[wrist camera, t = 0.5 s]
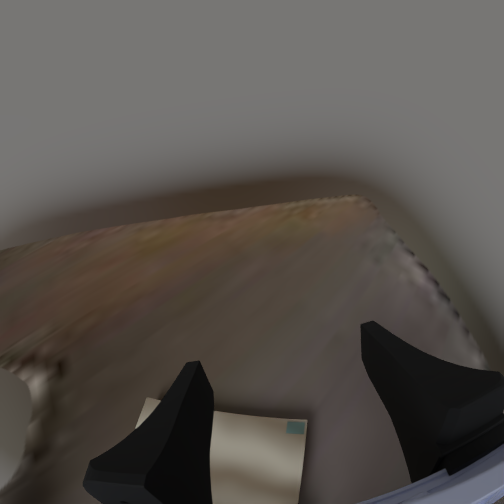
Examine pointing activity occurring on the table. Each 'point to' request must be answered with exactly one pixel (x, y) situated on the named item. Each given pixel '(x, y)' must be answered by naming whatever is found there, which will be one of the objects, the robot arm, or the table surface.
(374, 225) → the table surface
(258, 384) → the table surface
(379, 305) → the table surface
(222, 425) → the cream flat block
